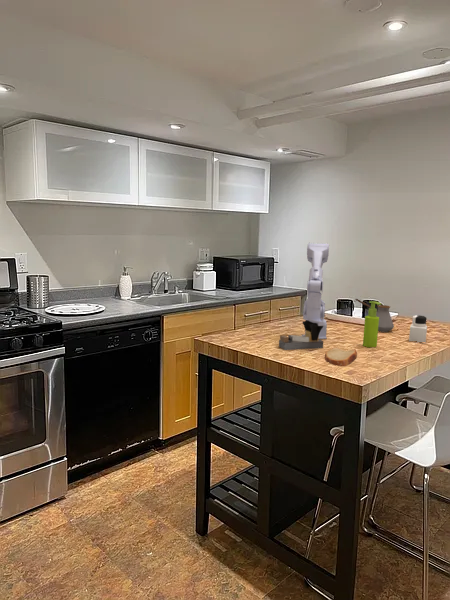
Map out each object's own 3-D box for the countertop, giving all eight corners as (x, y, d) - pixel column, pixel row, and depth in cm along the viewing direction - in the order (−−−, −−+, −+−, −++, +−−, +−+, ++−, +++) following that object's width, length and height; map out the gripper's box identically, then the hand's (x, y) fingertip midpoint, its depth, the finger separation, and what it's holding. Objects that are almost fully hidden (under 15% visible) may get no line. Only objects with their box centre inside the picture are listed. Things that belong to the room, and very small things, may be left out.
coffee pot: (396, 330, 243) (399, 302, 241) (389, 334, 234) (391, 304, 231) (356, 324, 255) (358, 297, 253) (348, 327, 246) (350, 299, 244)
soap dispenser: (371, 348, 203) (375, 303, 200) (359, 345, 209) (363, 300, 206) (381, 347, 206) (385, 302, 203) (369, 343, 212) (373, 300, 209)
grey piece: (316, 344, 207) (317, 333, 206) (323, 348, 202) (323, 336, 201) (278, 346, 202) (279, 335, 201) (284, 349, 196) (285, 338, 195)
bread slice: (337, 367, 174) (338, 358, 174) (310, 355, 191) (311, 346, 190) (376, 363, 181) (376, 354, 181) (346, 352, 198) (347, 343, 197)
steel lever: (308, 341, 199) (309, 336, 199) (308, 342, 197) (308, 337, 196) (288, 339, 201) (288, 334, 201) (287, 340, 199) (288, 335, 199)
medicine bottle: (425, 340, 223) (428, 315, 221) (425, 343, 216) (427, 317, 214) (409, 338, 226) (412, 314, 224) (408, 341, 219) (411, 316, 217)
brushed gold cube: (313, 338, 205) (314, 329, 205) (318, 341, 201) (319, 331, 201) (305, 338, 204) (305, 329, 204) (310, 341, 200) (310, 332, 199)
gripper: (297, 305, 206) (295, 335, 208) (313, 311, 193) (311, 343, 195) (312, 305, 208) (310, 334, 210) (328, 310, 195) (326, 342, 197)
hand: (311, 339), depth 203 cm, fingers closed on brushed gold cube, 4 cm apart
